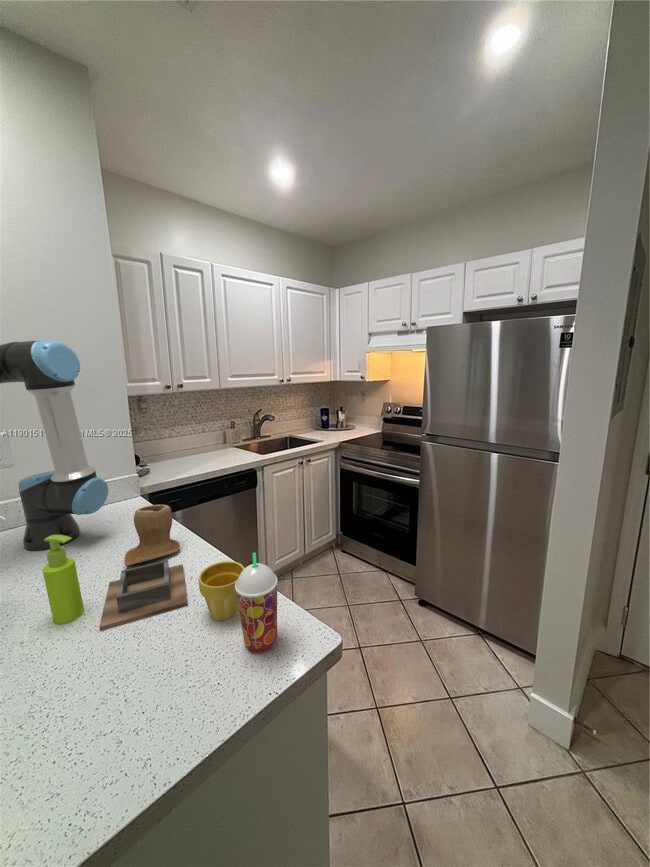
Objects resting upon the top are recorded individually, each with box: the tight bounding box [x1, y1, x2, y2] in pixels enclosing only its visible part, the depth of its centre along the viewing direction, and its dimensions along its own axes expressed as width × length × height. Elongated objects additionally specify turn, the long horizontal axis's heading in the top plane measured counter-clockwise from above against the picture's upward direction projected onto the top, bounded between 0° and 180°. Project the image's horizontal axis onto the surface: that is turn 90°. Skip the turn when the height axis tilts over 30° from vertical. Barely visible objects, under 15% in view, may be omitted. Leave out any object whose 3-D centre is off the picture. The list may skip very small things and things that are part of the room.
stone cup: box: [123, 504, 181, 567], centre depth 106 cm, size 15×12×15 cm
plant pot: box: [198, 560, 246, 621], centre depth 81 cm, size 10×10×10 cm
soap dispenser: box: [41, 535, 85, 625], centre depth 80 cm, size 6×7×20 cm
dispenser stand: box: [98, 559, 188, 632], centre depth 88 cm, size 18×18×5 cm
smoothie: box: [235, 552, 279, 653], centre depth 71 cm, size 8×8×20 cm
